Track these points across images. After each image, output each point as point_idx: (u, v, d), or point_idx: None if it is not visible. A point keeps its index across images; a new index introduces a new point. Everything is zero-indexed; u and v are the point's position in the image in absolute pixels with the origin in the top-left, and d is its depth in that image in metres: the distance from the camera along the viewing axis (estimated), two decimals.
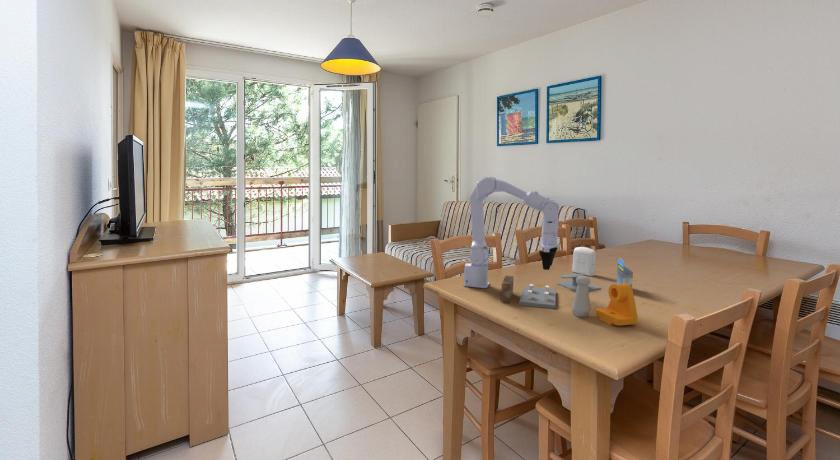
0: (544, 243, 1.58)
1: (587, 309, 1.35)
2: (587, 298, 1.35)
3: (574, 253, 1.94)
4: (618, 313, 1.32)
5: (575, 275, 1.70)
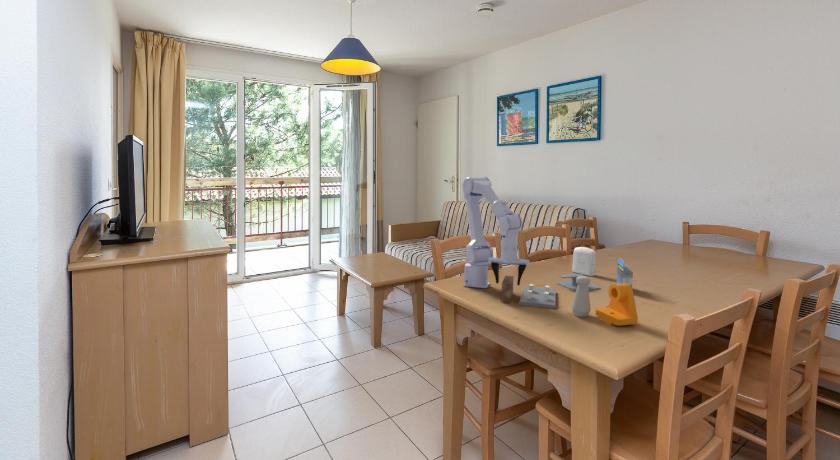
0: None
1: (587, 309, 1.35)
2: (587, 298, 1.35)
3: (574, 253, 1.94)
4: (618, 313, 1.32)
5: (574, 275, 1.70)
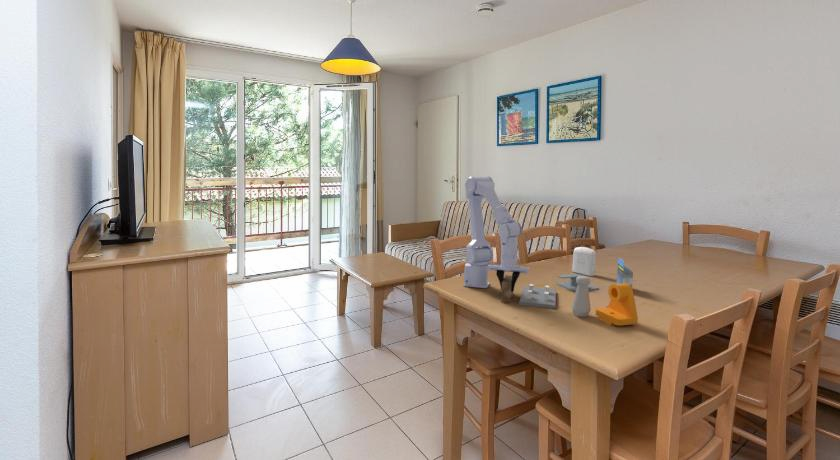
0: None
1: (587, 309, 1.35)
2: (587, 298, 1.35)
3: (574, 253, 1.94)
4: (618, 313, 1.32)
5: (573, 275, 1.70)
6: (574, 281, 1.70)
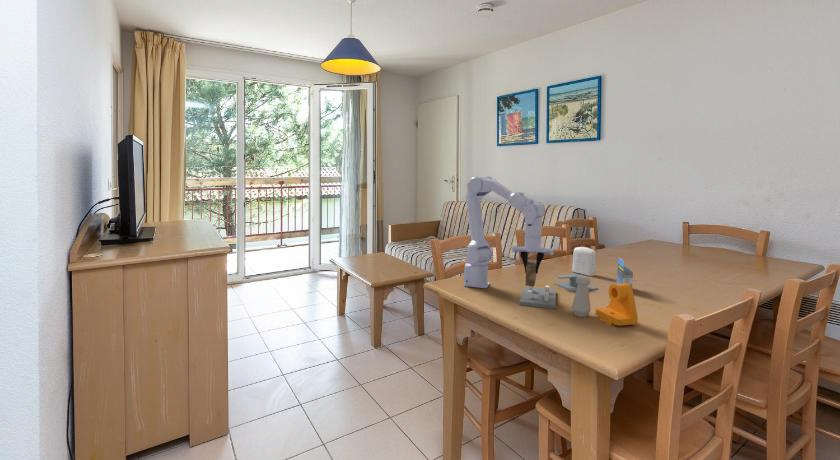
0: None
1: (587, 309, 1.35)
2: (587, 298, 1.35)
3: (574, 253, 1.94)
4: (618, 313, 1.32)
5: (572, 275, 1.69)
6: (573, 281, 1.69)
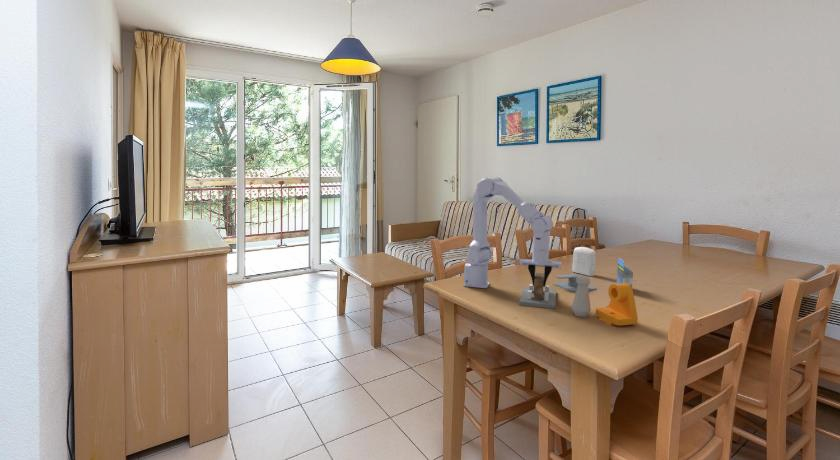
0: None
1: (587, 309, 1.35)
2: (587, 298, 1.35)
3: (574, 253, 1.94)
4: (618, 313, 1.32)
5: (571, 275, 1.69)
6: (572, 281, 1.69)
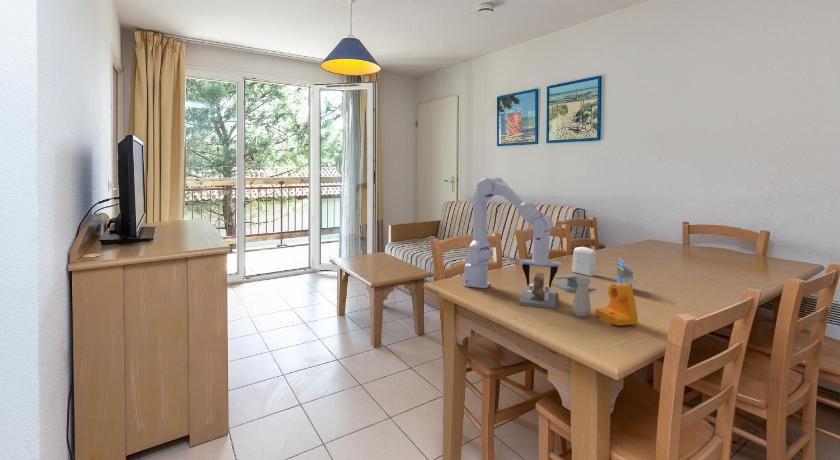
0: None
1: (587, 309, 1.35)
2: (587, 298, 1.35)
3: (574, 253, 1.94)
4: (618, 313, 1.32)
5: (570, 275, 1.69)
6: (570, 281, 1.69)
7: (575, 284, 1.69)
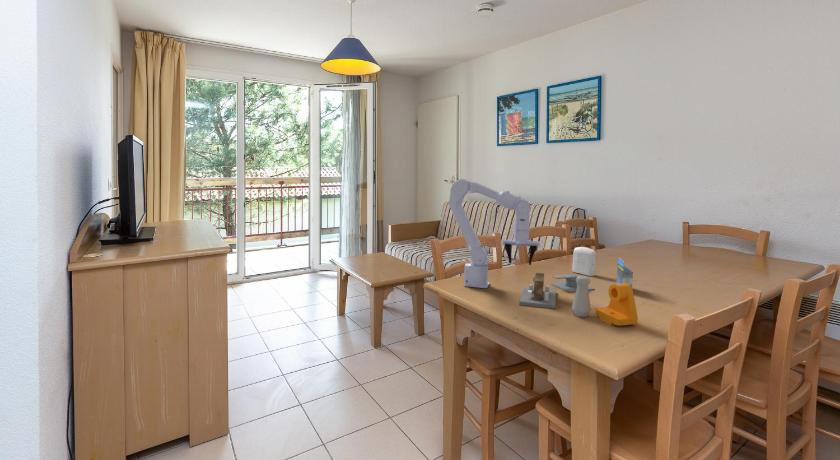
0: None
1: (587, 309, 1.35)
2: (587, 298, 1.35)
3: (574, 253, 1.94)
4: (618, 313, 1.32)
5: (568, 276, 1.69)
6: (569, 282, 1.69)
7: (574, 284, 1.68)
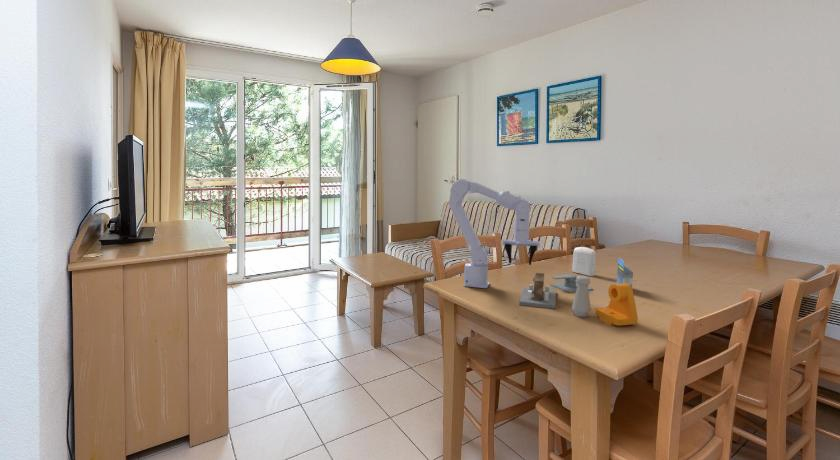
0: None
1: (587, 309, 1.35)
2: (587, 298, 1.35)
3: (574, 253, 1.94)
4: (618, 313, 1.32)
5: (567, 276, 1.68)
6: (568, 282, 1.69)
7: (572, 284, 1.68)
